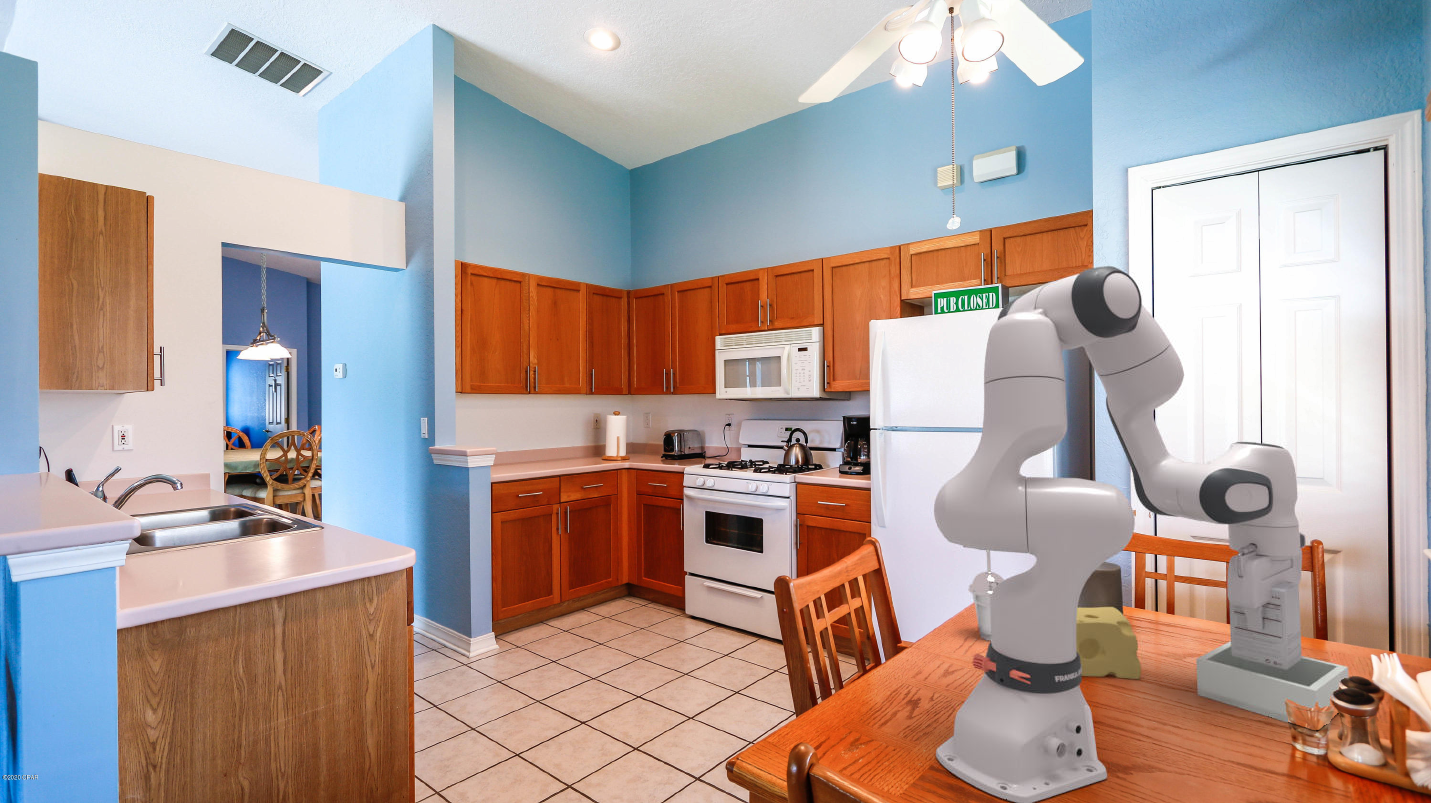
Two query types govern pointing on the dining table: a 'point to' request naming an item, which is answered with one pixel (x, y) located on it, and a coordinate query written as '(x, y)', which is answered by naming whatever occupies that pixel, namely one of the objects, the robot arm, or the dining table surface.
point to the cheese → (1106, 643)
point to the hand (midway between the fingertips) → (1266, 623)
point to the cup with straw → (984, 597)
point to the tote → (1266, 682)
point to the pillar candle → (1103, 588)
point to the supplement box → (1270, 630)
